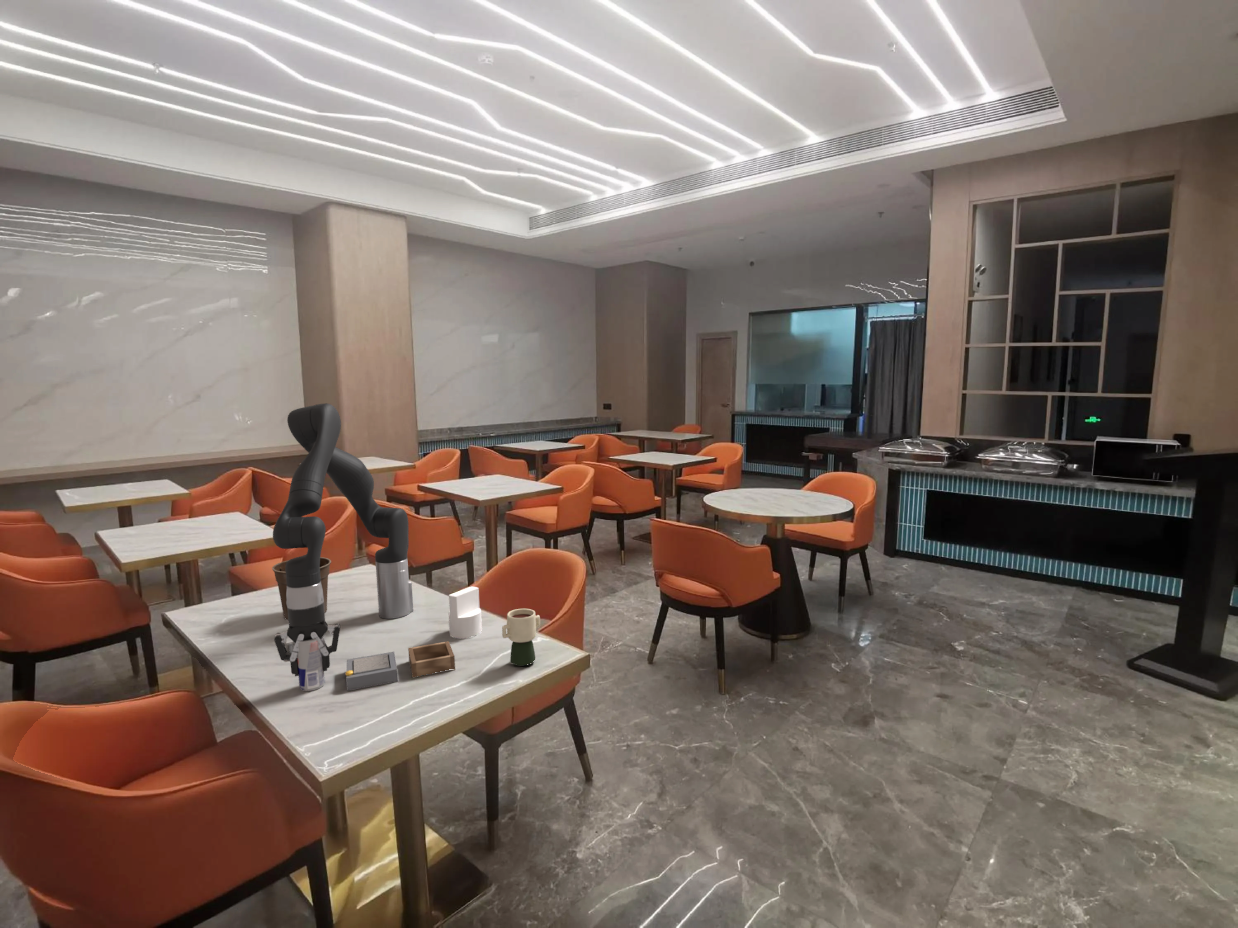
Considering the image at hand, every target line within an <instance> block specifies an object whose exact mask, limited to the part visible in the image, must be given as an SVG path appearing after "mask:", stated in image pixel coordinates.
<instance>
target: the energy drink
mask: <svg viewBox="0 0 1238 928" xmlns="http://www.w3.org/2000/svg"><path fill="white" fill-rule="evenodd" d="M321 641H322V639H321ZM319 644H320V643H319ZM298 648H299V652H298V654H297V663H298V676H297V677H298V685H299V687H298V688H299V689H300V690H301V691H303V692H312V691H315V690H316V691H317V690H319V689H321V688H322V687H324V685H325V683H326V680H325V678H326V677H325V671H323V659H322V656H323V654H322V652H321V649H319V646H318V640H317V639H311V640H304V641H299V643H298Z"/></svg>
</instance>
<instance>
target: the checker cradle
mask: <svg viewBox="0 0 1238 928" xmlns="http://www.w3.org/2000/svg"><path fill="white" fill-rule="evenodd" d="M384 654H388V660H389V669H383V670H378V671H372V672H367V673H361V674H355V675H354V660H355V659H361V658H367V657H373V656H379V655H384ZM397 667H398V666H397V660H396V655H395V651H390V652H389V651H388V652H383V653H378V654H371V655H365V656H361V657H353V658H348V659H346V671H345V676H346V677H345V680H346V691H347V692H349V691H355V690H359V689H364V688H369V687H375V686H380V685H386V684H391V683H397V682H398V679H399V678H398V677H399V676H398V668H397ZM396 681H397V682H396Z"/></svg>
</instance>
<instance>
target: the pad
mask: <svg viewBox="0 0 1238 928" xmlns="http://www.w3.org/2000/svg"><path fill="white" fill-rule="evenodd" d="M389 668H390V666H389V660H388V654H384V655H379V656H373V657H367V658H361V659H355V660H354V672H353V675H355V674H361V673H367V672H372V671H378V670H383V669H389Z"/></svg>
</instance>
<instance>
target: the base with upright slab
mask: <svg viewBox="0 0 1238 928" xmlns="http://www.w3.org/2000/svg"><path fill="white" fill-rule="evenodd" d="M479 589H480V588H479V587H477V586H468V587H466V588H463V589H461V590H459V591H456V592H453V593H451V594H450V593H449V594H448V600H449V603H448V604H449V605H448V606H449V612H448V627H449V628H448V630H449V636H450V635H451V636H453V637H452V638H454V637H455V638H454V639H461V638H462V639H467V638H466V637H471V636H474V637H476V636H475V635H477V634H479V635H481V633H482V632H483V621H482V609H481V608H480V590H479ZM481 631H482V632H481ZM451 636H450V637H451ZM477 636H478V635H477ZM471 638H472V637H471Z"/></svg>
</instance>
